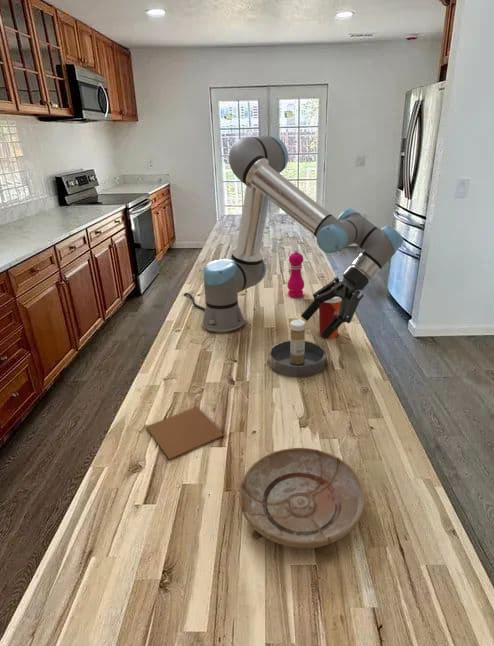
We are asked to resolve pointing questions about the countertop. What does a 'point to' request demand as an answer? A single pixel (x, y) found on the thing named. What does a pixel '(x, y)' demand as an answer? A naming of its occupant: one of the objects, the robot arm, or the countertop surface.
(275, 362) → the pan
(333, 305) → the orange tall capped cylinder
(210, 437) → the cork mat
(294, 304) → the countertop surface
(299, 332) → the sprinkles bottle
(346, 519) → the ceramic bowl
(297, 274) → the pepper mill
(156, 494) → the countertop surface
